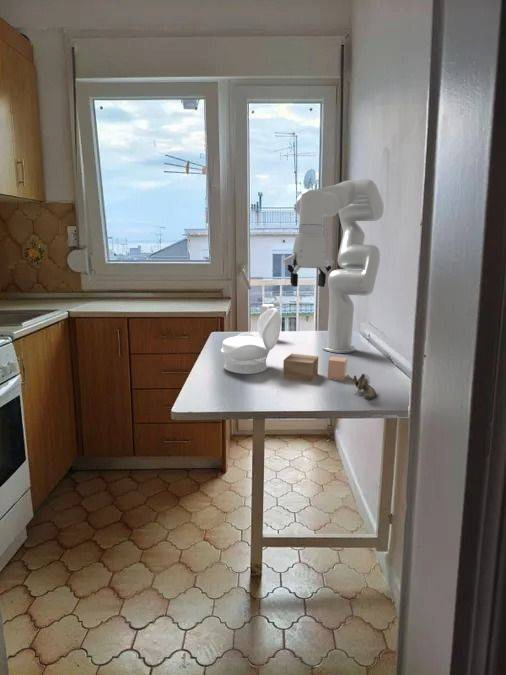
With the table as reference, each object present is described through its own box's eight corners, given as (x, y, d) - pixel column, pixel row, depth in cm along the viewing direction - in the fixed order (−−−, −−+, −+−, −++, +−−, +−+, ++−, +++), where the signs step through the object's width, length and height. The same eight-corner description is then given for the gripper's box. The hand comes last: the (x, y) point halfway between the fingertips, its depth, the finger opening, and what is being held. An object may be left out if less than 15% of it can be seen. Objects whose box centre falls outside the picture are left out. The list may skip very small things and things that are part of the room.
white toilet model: (220, 359, 158) (220, 304, 154) (275, 359, 160) (277, 304, 156) (220, 376, 139) (220, 312, 135) (283, 376, 141) (285, 313, 136)
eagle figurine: (339, 387, 127) (353, 391, 118) (352, 365, 128) (366, 368, 119) (360, 400, 129) (375, 405, 120) (372, 379, 129) (388, 382, 120)
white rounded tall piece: (275, 341, 190) (276, 306, 187) (259, 340, 190) (260, 306, 187) (274, 337, 197) (275, 304, 194) (259, 337, 197) (260, 303, 194)
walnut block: (290, 371, 147) (291, 353, 146) (317, 374, 144) (318, 356, 143) (282, 378, 138) (283, 360, 137) (311, 382, 135) (312, 363, 134)
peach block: (330, 374, 144) (331, 356, 142) (346, 376, 142) (347, 357, 141) (327, 378, 139) (328, 360, 138) (343, 380, 137) (345, 361, 136)
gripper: (328, 233, 146) (325, 285, 149) (280, 230, 140) (278, 285, 143) (341, 232, 139) (337, 287, 142) (290, 229, 133) (288, 287, 136)
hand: (307, 286), depth 143 cm, fingers open, 9 cm apart
